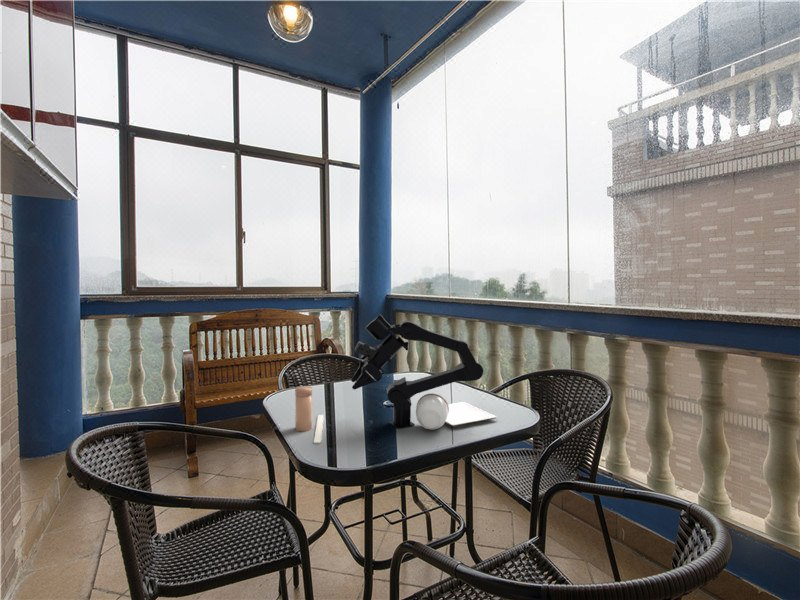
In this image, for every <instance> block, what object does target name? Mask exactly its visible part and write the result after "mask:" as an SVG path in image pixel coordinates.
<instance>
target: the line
mask: <svg viewBox="0 0 800 600" xmlns="http://www.w3.org/2000/svg"><path fill="white" fill-rule="evenodd" d="M324 418H325V414H318V415H317V418H316V425H315V430H314V431H315V433H314V439H313V444H314V445H315V444H321V443H322V437H323V426H324Z"/></svg>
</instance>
